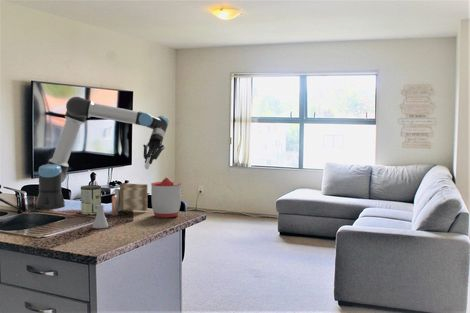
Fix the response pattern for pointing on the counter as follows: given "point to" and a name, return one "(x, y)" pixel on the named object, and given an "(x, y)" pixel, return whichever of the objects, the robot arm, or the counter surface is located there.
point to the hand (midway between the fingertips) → (146, 167)
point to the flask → (100, 218)
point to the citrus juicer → (166, 198)
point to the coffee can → (90, 199)
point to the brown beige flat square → (133, 197)
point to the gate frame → (116, 202)
